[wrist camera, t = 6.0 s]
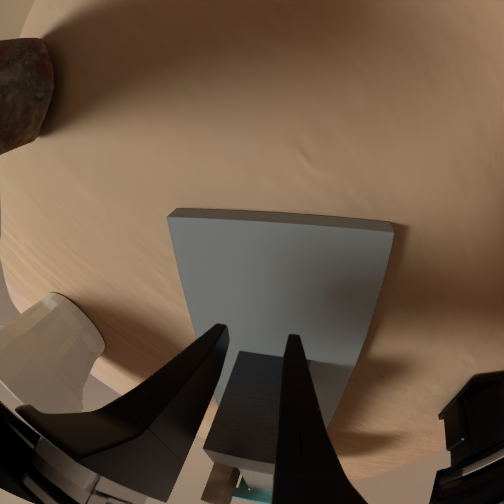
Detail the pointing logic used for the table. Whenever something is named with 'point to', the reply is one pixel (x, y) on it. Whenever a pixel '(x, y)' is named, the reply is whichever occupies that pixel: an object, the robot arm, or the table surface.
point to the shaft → (249, 420)
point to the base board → (283, 286)
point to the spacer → (251, 494)
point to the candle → (23, 90)
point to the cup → (49, 355)
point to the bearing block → (221, 484)
